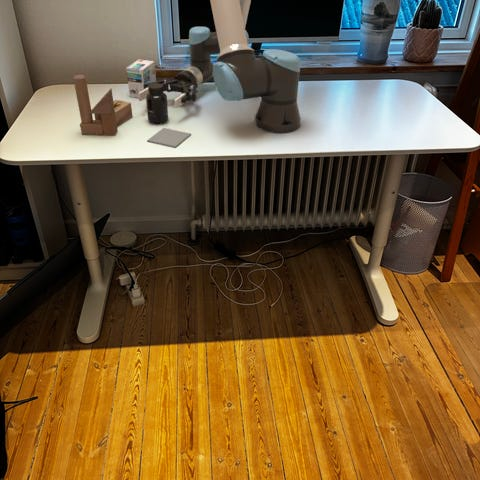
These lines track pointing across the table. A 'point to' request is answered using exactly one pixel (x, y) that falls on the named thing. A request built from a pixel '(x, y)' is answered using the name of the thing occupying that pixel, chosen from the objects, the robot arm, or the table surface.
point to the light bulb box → (140, 76)
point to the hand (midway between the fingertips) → (157, 100)
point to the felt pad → (169, 137)
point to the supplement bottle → (156, 104)
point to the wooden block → (95, 110)
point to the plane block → (120, 112)
